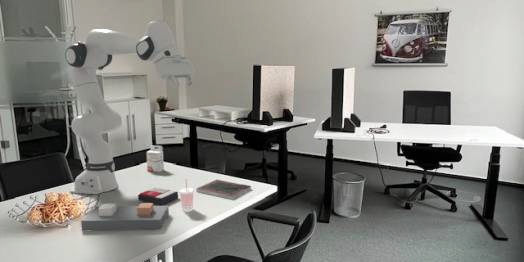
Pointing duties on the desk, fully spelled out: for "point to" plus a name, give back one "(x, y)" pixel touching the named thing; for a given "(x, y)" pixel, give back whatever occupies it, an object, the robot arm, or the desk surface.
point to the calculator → (158, 196)
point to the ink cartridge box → (155, 159)
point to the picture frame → (223, 189)
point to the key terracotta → (145, 209)
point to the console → (126, 219)
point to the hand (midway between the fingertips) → (184, 86)
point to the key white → (107, 210)
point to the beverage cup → (186, 198)
